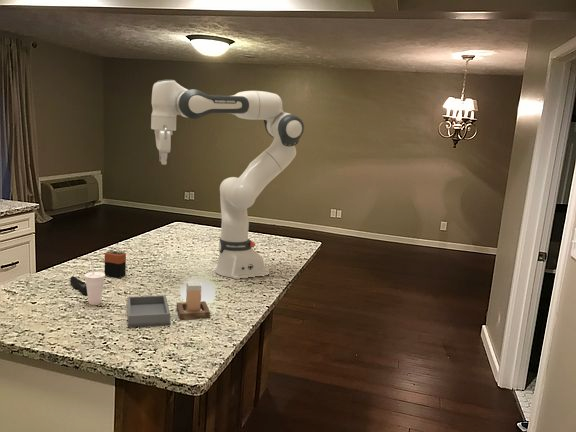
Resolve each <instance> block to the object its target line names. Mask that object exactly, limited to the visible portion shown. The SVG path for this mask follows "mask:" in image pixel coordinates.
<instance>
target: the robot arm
mask: <svg viewBox="0 0 576 432" xmlns="http://www.w3.org/2000/svg"><path fill="white" fill-rule="evenodd" d="M151 107H152V112H151V117H150V119H151V120H150V122H151V123H150V129H151V130H154V134H155V135H154V136H155V145H156V148H157V150H158V154H159V157H158V158H159V162H161V163H160V164H161V165H163V166H164V165H165V166H166V165H167V164H168V162H167V160H168V154H169V153H171V148H172V146H171V144H172V143H171V139H172V137H171V136H173V131H177V116H181V117H184V118H188V119H190V120H191V119H193V120H197V119H201V118H203V117H205V116H208V115H210V114H211V115H212V114H227V115H228V114H230V115H234V116H236V117H237V118H239V119H244V120H252V121H253V120H254V121H256V120H257V121H259V120H262V121H263V123H264V124H263V125H264V129H265V131H266V133H267V134H268V135H269V136H270V137H272V138H273V140H272V142H271V144H270V145H269V147H267V148H266V149H265V150H264V151H262V152H261V153H260V154H259V155H258V156H256V157H255V158H254V159H253V160H252V161H250V162H249V164H248V166H247V167H246V168H245V170H244V171H243V172H242V174H241V175H239V176H238V177H236V176H231V177H227V178H225V179H223V180H222V181H221V183H220V185H219V194H220V196H219V200H220V213H221V226H220V227H221V229H220V231H221V233H220V238H219V241H218V251H219V255H218V260H217V264H216V268H215V269H214V271H215V273H216V275H217V274H218V275H220V276H223V277H226V278H231V279H234V280H241V279H240V278H243V279H249V278H248V277H253V278H256V277H255V276H262V275H268V274H269V273H270V269H268V267H266V266H265V261H264V258H263V256H261V254H260V253H258V252H257V251H256V250H255V249H253V248H255V247H256V243H255V242H254V241H252V240H251V239H249V226H250V221H249V215H248V209H249V208H251V207H252V206H253V205H254V203H255V202H256V200H257V198H258V197H259V196H260V194H261V193H262V191H263V190H264V189H265V188H266V187H267V186H268V184H269V183H271V182H272V181H273V180H274V179H275V178H276V177H277V176H278V175H279V174H280V173H282V172H283V171H284V170H285V169H286V168H287V167H288V166H289V165H290V164H291V163H292V161H293V160H294V159H295V157H296V156H297V149H296V146H297V145H298V143H299V141H300V139H301V137H302V136H303V134H304V130H305V124H304V121H303V120H302V119H301V117H299V116H298V115H296V114H293V113H289V112H285V111H284V109H283V100H282V98H281V97H280V96H279V95H278V94H277V93H273V92H269V91H264V90H263V91H262V90H244V91H239V92H237V93H235V94H233V95H212V94H211V95H210V94H207V93H205V92H204V91H201V90H199V89H193V88H192V89H188V88H185V87H184V86H182V85H181V84H179V83H177V81H176V80H175V79H162V80H161V79H160V80H157V81H155V82H154V83H153V85H152V92H151ZM269 275H270V274H269Z"/></svg>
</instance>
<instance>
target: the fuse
mask: <svg viewBox="0 0 576 432" xmlns="http://www.w3.org/2000/svg"><path fill="white" fill-rule="evenodd" d="M185 297H186V299H185V302H186V310H185V312H187V311H201V309H200V304H201V301H202V298H201V297H202V284H201V282H200V281H187V282H186V295H185Z"/></svg>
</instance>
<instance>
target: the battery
mask: <svg viewBox="0 0 576 432" xmlns="http://www.w3.org/2000/svg"><path fill="white" fill-rule="evenodd" d="M126 260H127V253H126V252H123V251H122V250H114V249H109V250H108V251H107V252H105V253H104V273H105V277H110V278H115V279H116V278H117V279H120V278H122V277H125V276H126V274H127V273H126V270H127V269H126V268H127V266H126V265H127V263H126V262H127V261H126Z"/></svg>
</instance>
